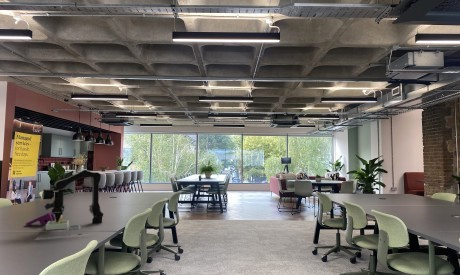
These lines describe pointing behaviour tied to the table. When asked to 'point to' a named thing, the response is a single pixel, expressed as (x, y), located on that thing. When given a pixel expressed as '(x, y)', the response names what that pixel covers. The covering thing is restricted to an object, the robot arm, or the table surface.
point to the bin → (57, 225)
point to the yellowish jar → (60, 220)
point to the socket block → (74, 227)
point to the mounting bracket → (43, 219)
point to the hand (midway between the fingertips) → (58, 220)
